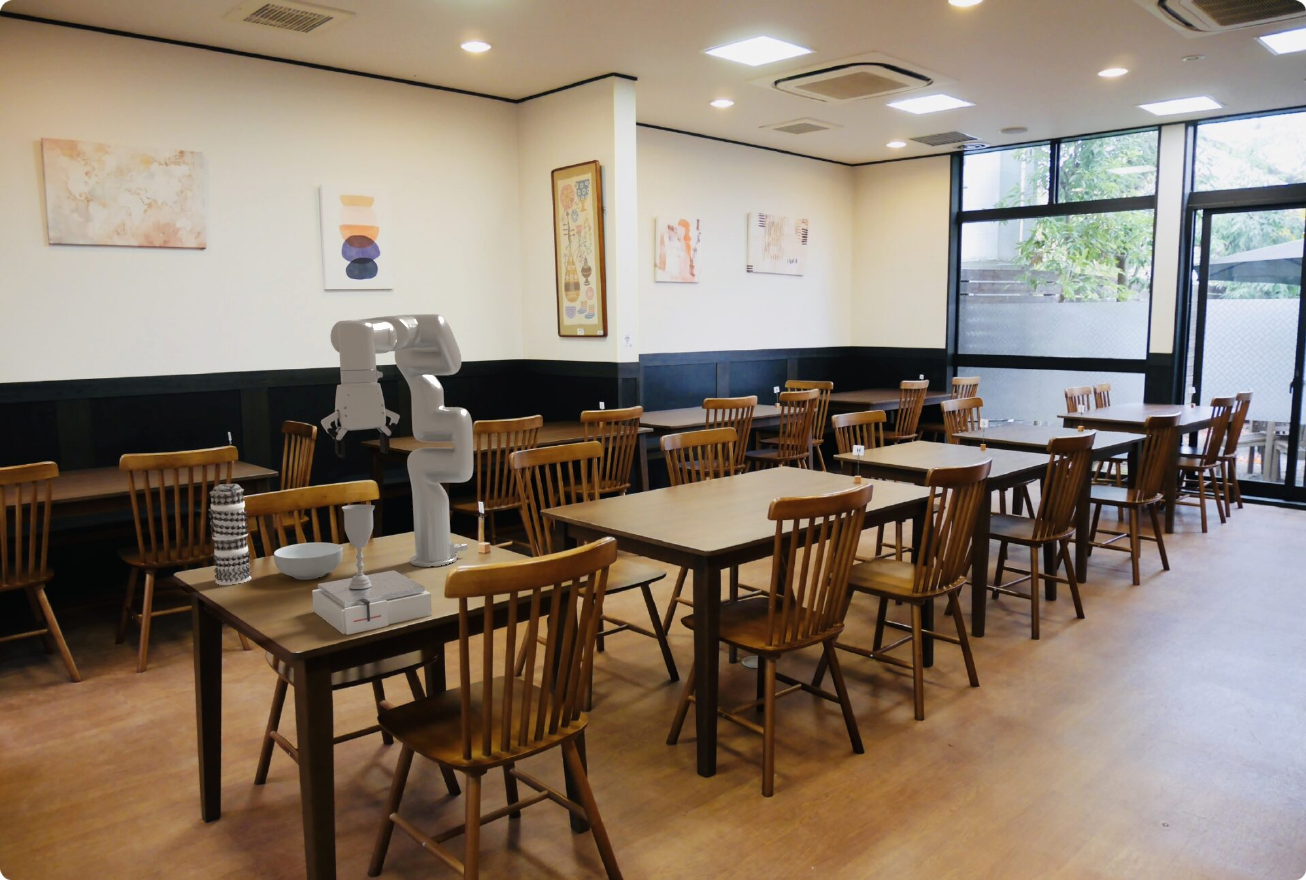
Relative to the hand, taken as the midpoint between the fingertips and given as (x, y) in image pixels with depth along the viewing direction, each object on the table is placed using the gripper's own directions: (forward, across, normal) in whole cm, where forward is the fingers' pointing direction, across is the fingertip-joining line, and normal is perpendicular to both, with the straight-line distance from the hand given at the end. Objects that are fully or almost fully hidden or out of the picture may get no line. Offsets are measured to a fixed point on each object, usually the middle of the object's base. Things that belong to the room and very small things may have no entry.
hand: (363, 455), depth 205 cm
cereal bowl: (+37, +1, -42) cm, 56 cm away
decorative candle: (+36, +18, -50) cm, 64 cm away
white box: (+36, 0, +1) cm, 36 cm away
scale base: (+36, 0, 0) cm, 36 cm away
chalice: (+30, +2, 0) cm, 30 cm away
